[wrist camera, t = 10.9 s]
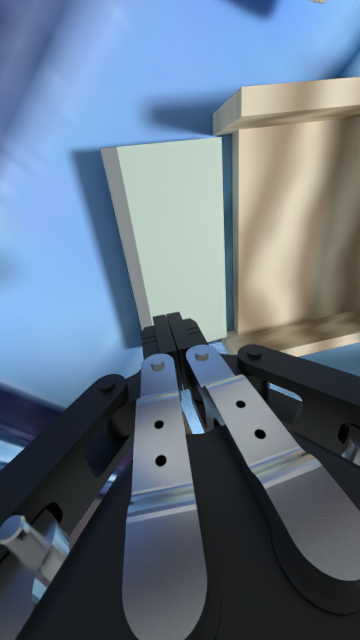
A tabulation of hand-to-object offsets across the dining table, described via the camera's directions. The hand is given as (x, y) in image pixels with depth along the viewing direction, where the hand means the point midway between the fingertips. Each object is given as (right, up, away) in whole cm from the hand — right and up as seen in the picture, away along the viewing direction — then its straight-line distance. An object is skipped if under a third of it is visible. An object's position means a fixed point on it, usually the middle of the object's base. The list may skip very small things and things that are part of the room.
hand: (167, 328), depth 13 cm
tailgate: (+5, +8, +13) cm, 16 cm away
